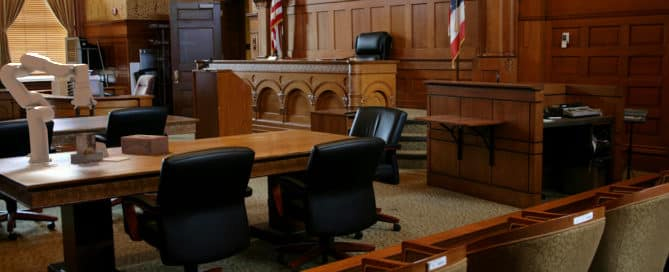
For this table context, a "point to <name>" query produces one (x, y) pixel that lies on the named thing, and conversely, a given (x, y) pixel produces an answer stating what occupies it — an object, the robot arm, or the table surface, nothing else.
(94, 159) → the metal bracket
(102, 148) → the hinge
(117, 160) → the felt pad
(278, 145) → the table surface
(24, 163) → the table surface
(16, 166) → the table surface
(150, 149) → the tissue box cover
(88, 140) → the coffee box
